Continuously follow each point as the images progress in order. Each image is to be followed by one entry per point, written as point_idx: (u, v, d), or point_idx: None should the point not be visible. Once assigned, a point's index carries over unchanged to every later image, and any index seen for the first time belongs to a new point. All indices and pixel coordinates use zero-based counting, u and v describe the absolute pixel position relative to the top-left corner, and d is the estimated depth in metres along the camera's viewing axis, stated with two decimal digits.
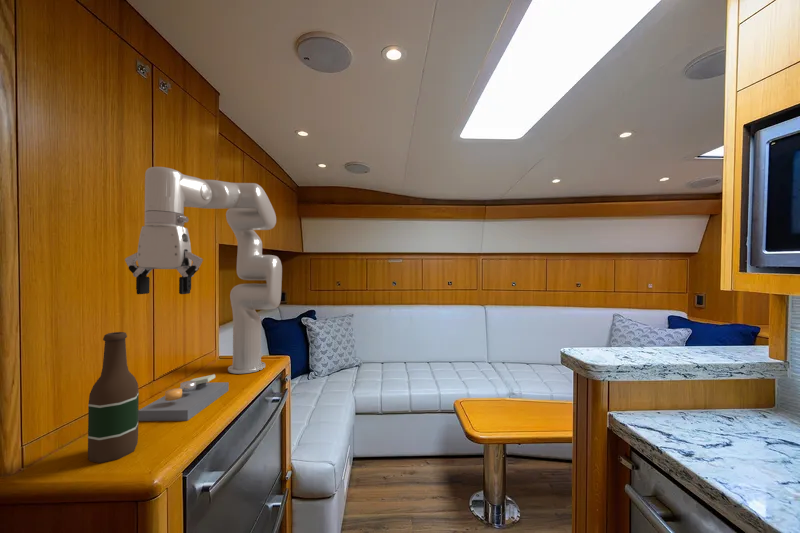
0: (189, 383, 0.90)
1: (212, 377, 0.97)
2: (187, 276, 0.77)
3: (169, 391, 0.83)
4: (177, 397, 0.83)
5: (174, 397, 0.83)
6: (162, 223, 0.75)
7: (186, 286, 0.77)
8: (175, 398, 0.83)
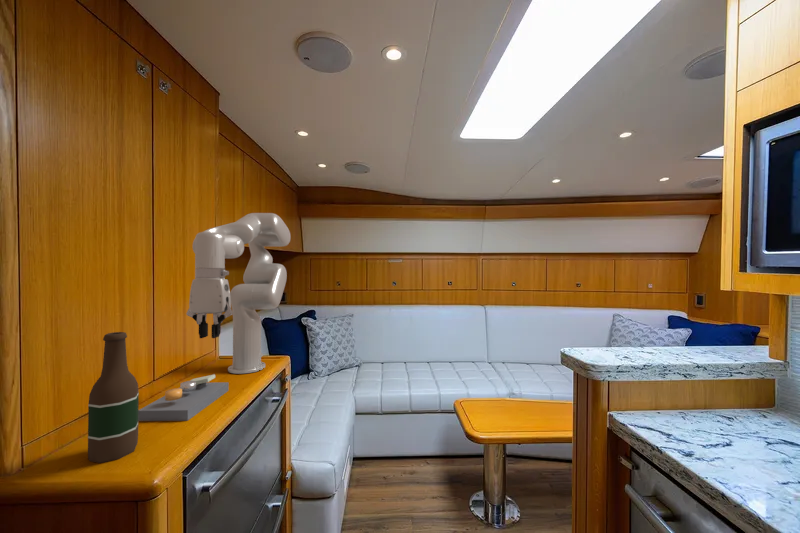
0: (189, 383, 0.90)
1: (212, 377, 0.97)
2: (218, 323, 0.96)
3: (169, 391, 0.83)
4: (177, 397, 0.83)
5: (174, 397, 0.83)
6: (209, 278, 0.93)
7: (217, 331, 0.96)
8: (175, 398, 0.83)
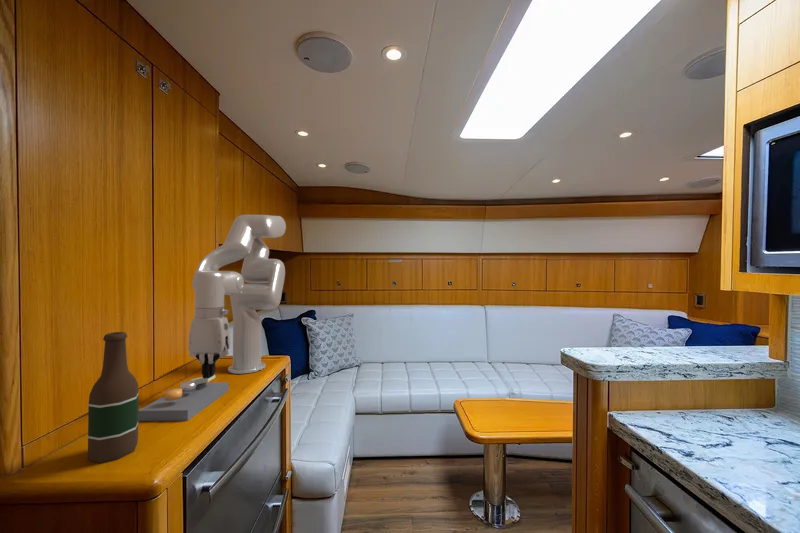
0: (189, 383, 0.90)
1: (212, 377, 0.97)
2: (212, 363, 0.95)
3: (169, 391, 0.83)
4: (177, 397, 0.83)
5: (174, 397, 0.83)
6: (209, 318, 0.93)
7: (211, 371, 0.95)
8: (175, 398, 0.83)
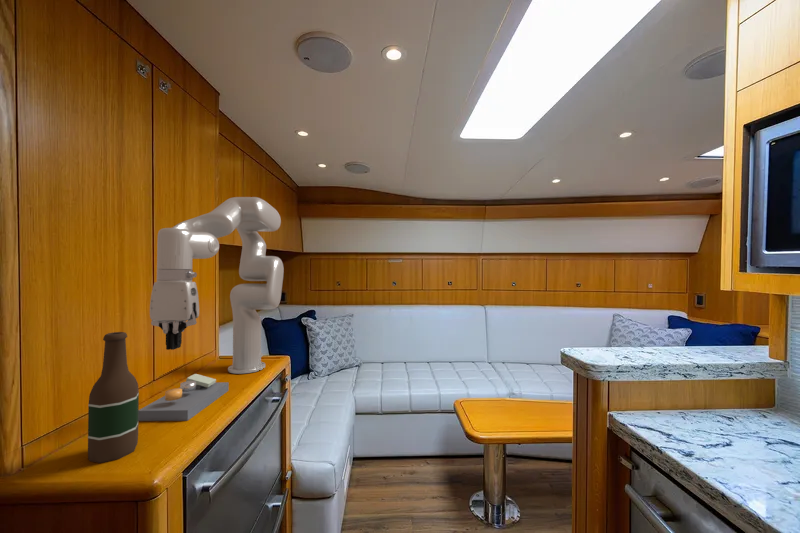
0: (189, 383, 0.90)
1: (213, 382, 0.97)
2: (178, 332, 0.83)
3: (169, 391, 0.83)
4: (177, 397, 0.83)
5: (174, 397, 0.83)
6: (173, 280, 0.81)
7: (177, 342, 0.83)
8: (175, 398, 0.83)
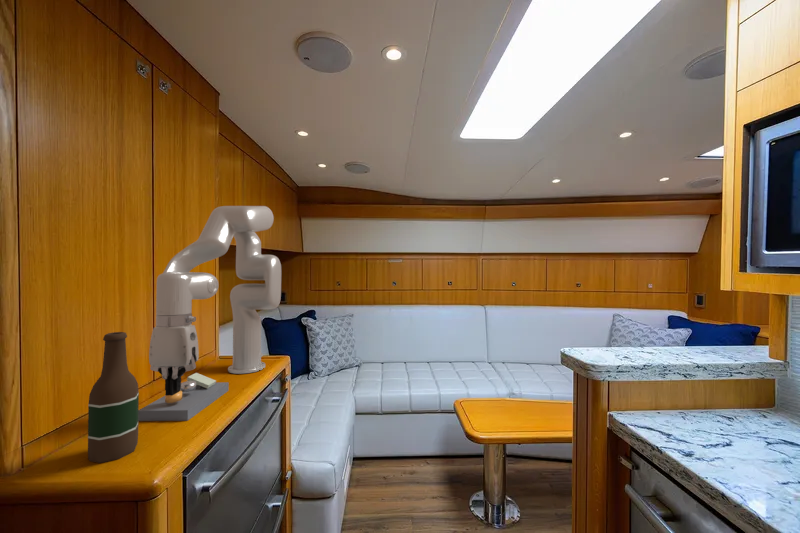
0: (189, 383, 0.90)
1: (212, 384, 0.97)
2: (177, 378, 0.83)
3: None
4: (177, 399, 0.83)
5: (174, 399, 0.83)
6: (172, 326, 0.81)
7: (176, 387, 0.83)
8: (175, 400, 0.83)
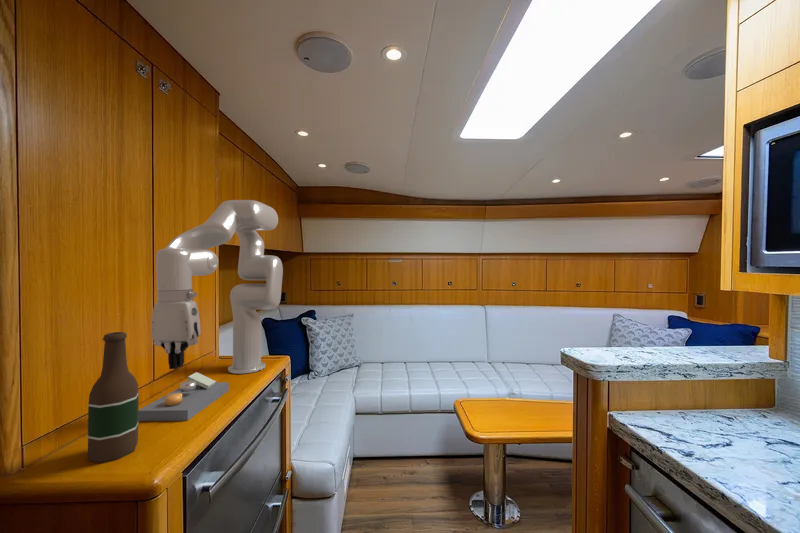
0: (189, 383, 0.90)
1: (212, 384, 0.97)
2: (180, 352, 0.84)
3: (169, 396, 0.83)
4: (177, 402, 0.83)
5: (174, 402, 0.83)
6: (173, 302, 0.81)
7: (179, 361, 0.84)
8: (175, 403, 0.83)
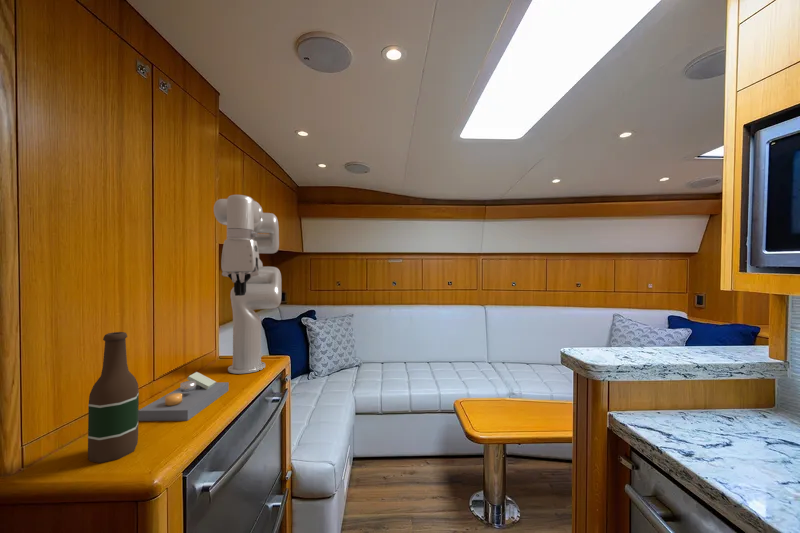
0: (189, 383, 0.90)
1: (212, 385, 0.97)
2: (244, 282, 1.01)
3: (169, 396, 0.83)
4: (177, 402, 0.83)
5: (174, 402, 0.83)
6: (241, 238, 0.98)
7: (243, 289, 1.01)
8: (175, 403, 0.83)
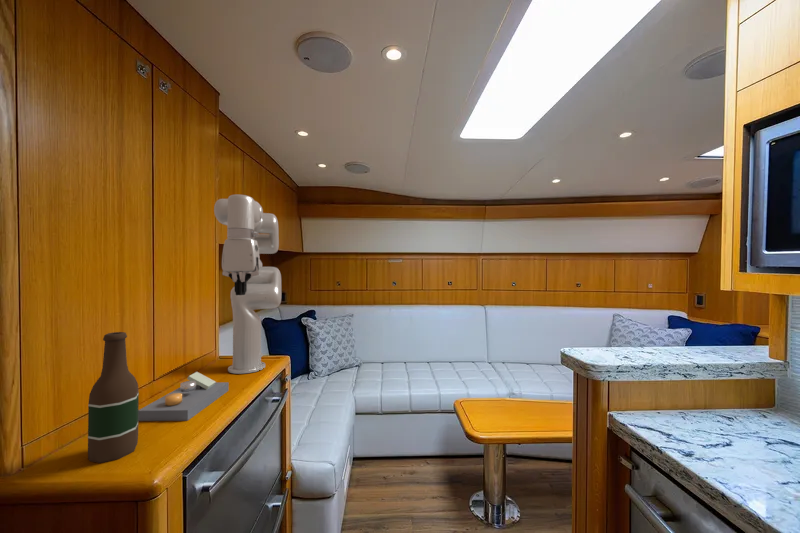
0: (189, 383, 0.90)
1: (212, 385, 0.97)
2: (244, 281, 1.01)
3: (169, 396, 0.83)
4: (177, 402, 0.83)
5: (174, 402, 0.83)
6: (241, 237, 0.99)
7: (243, 289, 1.01)
8: (175, 403, 0.83)
